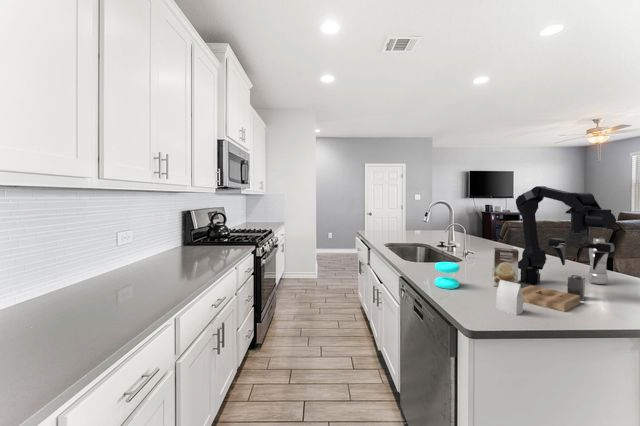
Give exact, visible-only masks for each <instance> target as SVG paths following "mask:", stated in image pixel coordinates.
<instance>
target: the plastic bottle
mask: <svg viewBox="0 0 640 426" xmlns="http://www.w3.org/2000/svg"><path fill="white" fill-rule="evenodd" d="M599 242H604V243H606V240H605V238H601V237H599V238H597V237H596V238H595V237H594V238H593V241H592V244H597V243H599ZM596 251H597V250H596V249H592V248H588V255H589V270H588V271H589V272H588V274H587V280H588V281H589V283H592V284H595V285H606V284H607V283H608V280H609V278H608V277H609V276H608V272H607V261H608V257H609V253H607V254H604V256H603V257H602V258H601V260H600V261H599V263H598V265H597V267H596V269H595V270H593V263H594V257H595V253H594V252H596Z"/></svg>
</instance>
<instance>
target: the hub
mask: <svg viewBox="0 0 640 426" xmlns="http://www.w3.org/2000/svg"><path fill="white" fill-rule="evenodd" d="M521 290H522V294H523V303H527V304H532V305H535V306H540V307H544V308H548V309H552V310H555V311H560V312H563V313H565V312H566V311H570V309H572V308H574V307H576V306H578V305H580V304H581V303H580V302H581V301H580V295H575V294H570V293H567V292H564V291H560V290H554V289H550V288H544V287H541V286H540V287H539V286H535V285H528V286H526V287H521Z"/></svg>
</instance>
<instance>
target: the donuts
mask: <svg viewBox="0 0 640 426" xmlns="http://www.w3.org/2000/svg"><path fill="white" fill-rule="evenodd" d="M434 268H435V270H436V271H438V272H440V273H443V274H454V273H458V272H459V271H460V269H461V268H460V265H459V264H457V262H456V263H455V262H452V261H451V262H450V261H440V262H439V261H438V262H436V263H435V264H434ZM434 284H435V286H436V287H438V288H440V289H446V290H447V289H448V290H454V289H457V288H459V287H460V282H459V280H458V279H456V278H454V277H450V276H439V277H437V278H435V280H434Z"/></svg>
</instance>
